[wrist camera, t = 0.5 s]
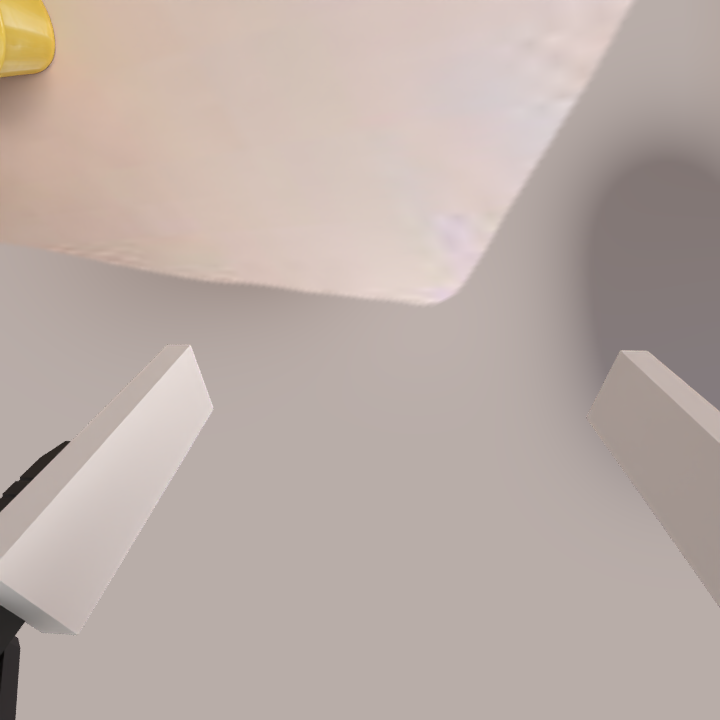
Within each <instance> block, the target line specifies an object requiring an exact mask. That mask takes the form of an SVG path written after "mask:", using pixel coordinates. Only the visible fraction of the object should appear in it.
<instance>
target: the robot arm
mask: <svg viewBox="0 0 720 720" xmlns="http://www.w3.org/2000/svg"><path fill="white" fill-rule="evenodd" d="M213 409H214V408H213V405H212V402H211V400H210V397H209V394H208V392H207V389H206V386H205V383H204V381H203V378H202V375H201V372H200V370H199V367H198V364H197V361H196V358H195V356H194V353H193V350H192V348H191V345H168V344H167V345H166V346H165V347H164V348H163V349H162V350H161V351H160V352H159V353H158V354H157V355H156V356H155V357H154V358H153V359H152V360H151V361H150V362H149V363H148V364H147V365H146V366H145V368H143V369H142V370H141V372H139V373H138V374H137V375H136V376H135V378H133V379H132V381H130V382H129V384H127V385H126V386H125V388H124V389H123V390H122V391H120V393H118V395H117V396H116V397H115V398H114V399H113V400H112V401H111V402H110V403H109V404H108V405H107V406H106V407H105V408H104V409H103V410H102V411H101V412H100V413H99V414H98V415H97V416H96V417H95V418H94V419H93V420H92V421H91V422H90V423H89V424H88V425H87V426H86V427H85V428H84V429H83V430H82V431H81V432H80V433H79V434H78V435H77V436H76V437H75V438H74V439H73V440H72V441H65V442H64V443H62V444H60V445H59V446H57V447H56V448H54V449H53V450H51V451H50V452H48V453H47V454H45V455H43V456H42V457H41V458H39V459H38V460H37V461H36V462H35V463H34V464H33V465H32V466H31V467H30V468H29V469H28V470H27V471H26V472H25V473H24V474H23V475H22V476H21V477H20V480H19V481H16V482H15V483H13V484H12V485H11V486H10V487H9V488H8V489H7V490H6V491H5V492H4V493H3V497H2V498H0V720H15V715H16V701H17V688H18V672H19V659H20V645H19V641H18V638H17V637H15V635H16V633H17V632H18V631H19V629H20V628H21V626H22V625H23V624H24V622H26V623H27V624H29V625H31V626H32V627H34V628H35V629H37V630H39V631H40V632H42V633H54V634H69V635H78V634H79V632H80V631H81V629H82V627H83V626H84V624H85V622H86V621H87V619H88V617H89V616H90V614H91V612H92V611H93V609H94V607H95V606H96V604H97V602H98V601H99V599H100V597H101V596H102V594H103V592H104V591H105V589H106V587H107V586H108V584H109V582H110V580H111V579H112V577H113V576H114V574H115V572H116V571H117V569H118V567H119V566H120V564H121V562H122V561H123V559H124V557H125V556H126V554H127V552H128V551H129V549H130V547H131V546H132V544H133V542H134V541H135V539H136V537H137V536H138V534H139V532H140V531H141V529H142V527H143V526H144V524H145V522H146V521H147V519H148V517H149V516H150V514H151V512H152V511H153V509H154V507H155V506H156V504H157V502H158V501H159V499H160V497H161V496H162V494H163V492H164V491H165V489H166V487H167V486H168V484H169V482H170V481H171V479H172V478H173V476H174V474H175V472H176V471H177V469H178V468H179V466H180V464H181V463H182V461H183V459H184V458H185V456H186V454H187V453H188V451H189V449H190V448H191V446H192V444H193V442H194V441H195V439H196V438H197V436H198V434H199V433H200V431H201V429H202V428H203V426H204V424H205V423H206V421H207V419H208V418H209V416H210V414H211V413H212V411H213ZM586 418H587V420H588V421H589V422H590V424H591V425H592V427H593V428H594V430H595V431H596V432H597V434H598V435H599V437H600V438H601V439H602V441H603V442H604V444H605V445H606V447H607V448H608V450H609V451H610V452H611V454H612V455H613V457H614V458H615V459H616V461H617V462H618V464H619V465H620V467H621V468H622V469H623V471H624V472H625V474H626V475H627V476H628V478H629V479H630V481H631V482H632V484H633V485H634V486H635V488H636V489H637V491H638V492H639V493H640V495H641V496H642V498H643V499H644V501H645V502H646V503H647V505H648V506H649V508H650V509H651V510H652V512H653V513H654V515H655V516H656V518H657V519H658V520H659V522H660V523H661V525H662V526H663V528H664V529H665V530H666V532H667V533H668V535H669V536H670V538H671V539H672V540H673V542H674V543H675V545H676V546H677V548H678V549H679V550H680V552H681V553H682V555H683V556H684V557H685V559H686V560H687V561H688V563H689V565H690V566H691V567H692V569H693V570H694V572H695V573H696V574H697V576H698V577H699V579H700V580H701V582H702V583H703V584H704V586H705V587H706V589H707V590H708V591H709V593H710V594H711V596H712V597H713V599H714V600H715V601H716V603H717V604H718V606H719V607H720V411H718V410H717V409H716V408H715V407H714V406H712V405H711V404H710V403H709V402H708V401H707V400H705V399H704V398H703V397H702V396H701V395H699V394H698V393H697V392H696V391H695V390H693V389H692V388H691V387H690V386H689V385H687V384H686V383H685V382H684V381H683V380H682V379H680V378H679V377H678V376H677V375H676V374H674V373H673V372H672V371H671V370H670V369H668V368H667V367H666V366H665V365H664V364H662V363H661V362H660V361H659V360H658V359H657V358H655V357H654V356H653V355H652V354H651V353H649V352H648V351H624V350H623V351H622V350H621V351H620V352H619V354H618V356H617V358H616V360H615V362H614V364H613V366H612V368H611V370H610V372H609V374H608V376H607V378H606V380H605V382H604V384H603V386H602V387H601V389H600V391H599V393H598V395H597V397H596V399H595V401H594V403H593V405H592V407H591V409H590V411H589V413H588V415H587V417H586Z"/></svg>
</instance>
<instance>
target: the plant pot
mask: <svg viewBox="0 0 720 720" xmlns="http://www.w3.org/2000/svg"><path fill="white" fill-rule="evenodd" d="M54 51H55V38H54V31H53V27H52V23H51V20H50V17H49V15H48V12H47V10H46V8H45V6H44V4H43V2H42V1H41V0H0V77H7V76H16V75H25V74H35V73H39V72H41V71H43V70H44V69H46V68H47V67H48V66H49V65H50V63H51V62H52V60H53V56H54Z"/></svg>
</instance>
